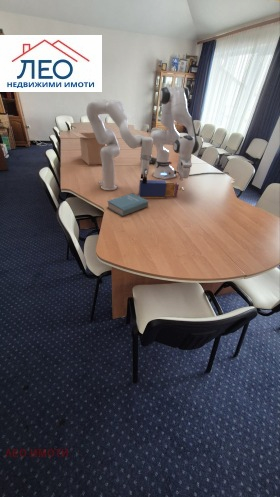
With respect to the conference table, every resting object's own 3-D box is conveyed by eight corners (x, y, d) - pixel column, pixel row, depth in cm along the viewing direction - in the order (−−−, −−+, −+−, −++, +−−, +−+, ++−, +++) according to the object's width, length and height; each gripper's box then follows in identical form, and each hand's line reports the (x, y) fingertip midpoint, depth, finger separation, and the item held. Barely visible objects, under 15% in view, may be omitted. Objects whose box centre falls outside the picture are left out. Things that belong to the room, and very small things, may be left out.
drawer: (181, 194, 175) (183, 182, 169) (183, 197, 171) (185, 184, 165) (152, 194, 172) (153, 181, 166) (153, 196, 168) (154, 184, 162)
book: (132, 199, 164) (132, 193, 161) (147, 207, 155) (148, 200, 152) (107, 207, 150) (107, 200, 147) (123, 216, 141) (123, 209, 138)
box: (116, 165, 229) (116, 136, 213) (83, 168, 214) (80, 137, 198) (102, 154, 259) (101, 128, 243) (71, 156, 244) (68, 129, 228)
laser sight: (159, 165, 238) (161, 156, 232) (139, 163, 241) (140, 153, 235) (161, 163, 246) (162, 153, 240) (141, 161, 248) (141, 151, 242)
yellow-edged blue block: (163, 194, 174) (165, 180, 168) (164, 198, 169) (166, 183, 163) (138, 194, 172) (139, 179, 165) (139, 198, 167) (140, 182, 160)
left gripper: (139, 153, 159) (137, 176, 169) (142, 160, 146) (139, 185, 156) (149, 153, 160) (146, 177, 170) (153, 160, 147) (150, 185, 157)
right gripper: (176, 157, 165) (173, 175, 173) (183, 165, 149) (180, 185, 157) (184, 157, 166) (181, 175, 174) (192, 165, 150) (188, 185, 158)
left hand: (143, 181), depth 163 cm, fingers open, 9 cm apart
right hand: (180, 180), depth 166 cm, fingers closed
